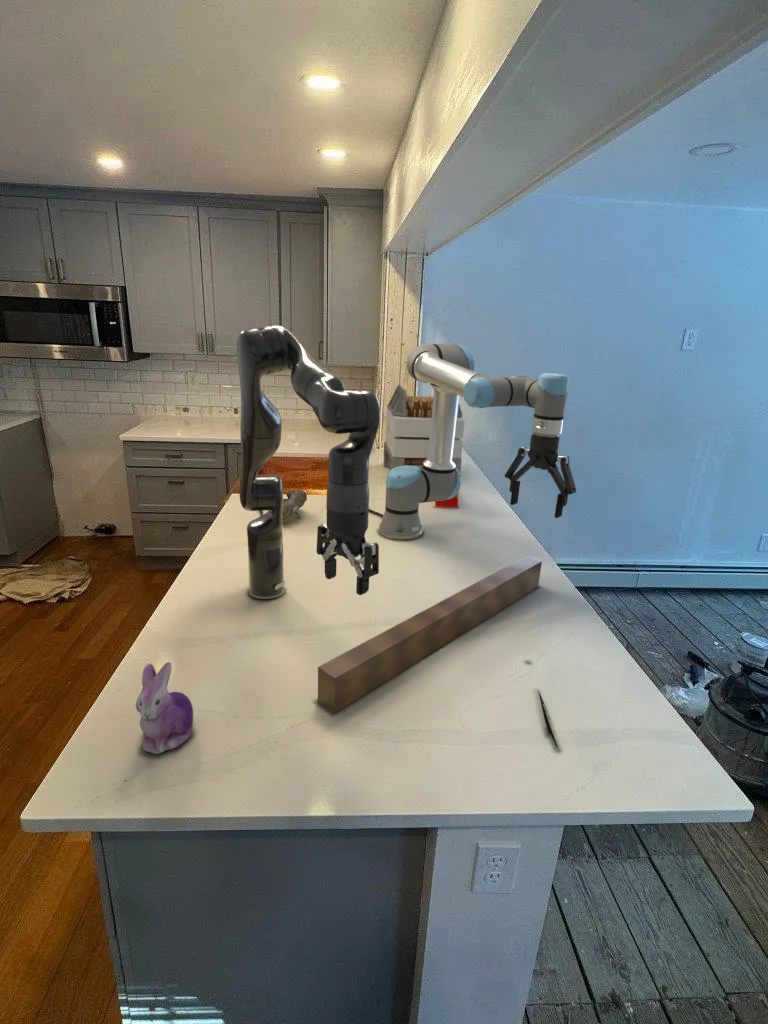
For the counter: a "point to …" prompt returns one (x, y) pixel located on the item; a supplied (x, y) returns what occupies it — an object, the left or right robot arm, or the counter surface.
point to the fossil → (293, 503)
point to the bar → (421, 634)
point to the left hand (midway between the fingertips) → (346, 585)
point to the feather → (547, 719)
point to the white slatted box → (414, 431)
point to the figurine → (162, 711)
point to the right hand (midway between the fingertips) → (535, 510)
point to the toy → (448, 502)
